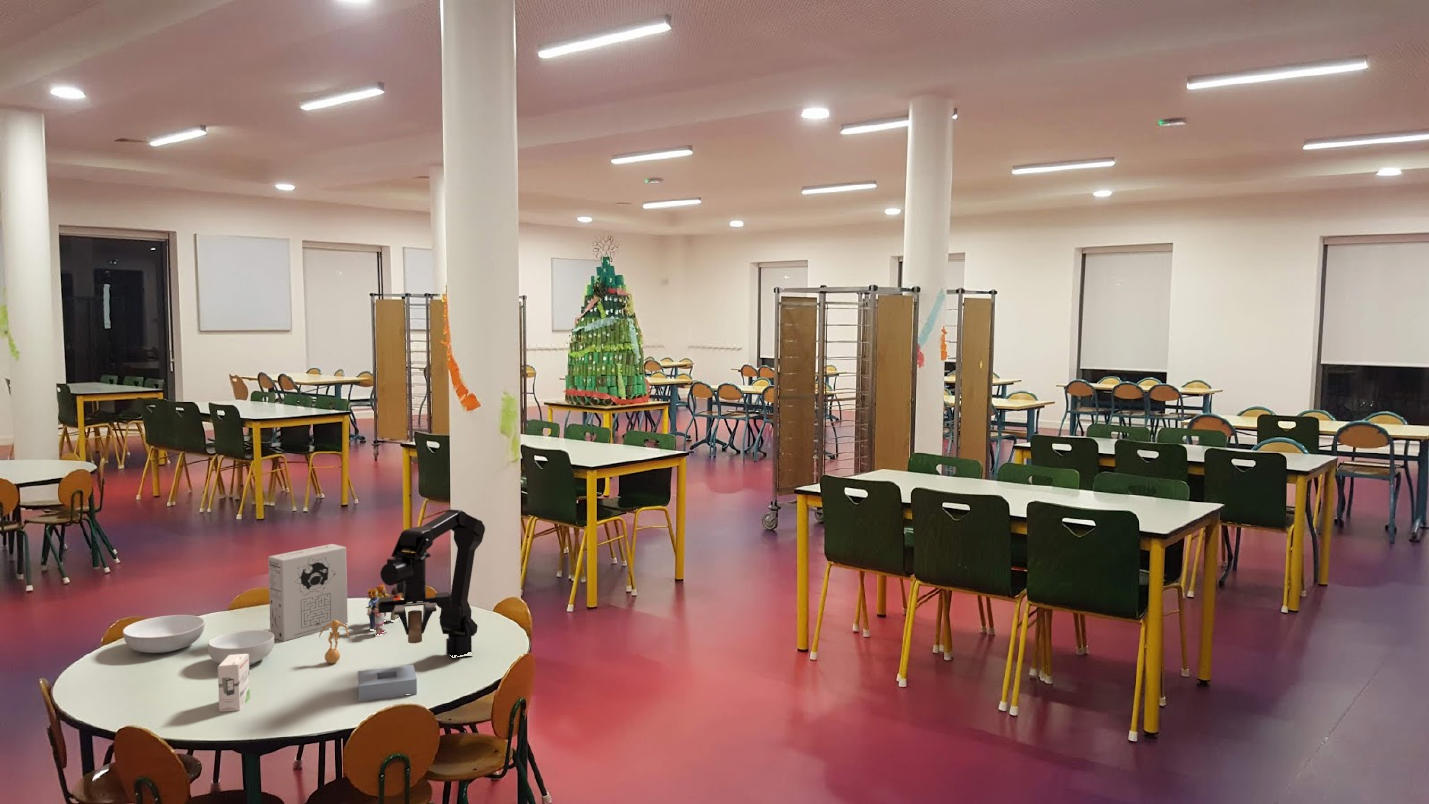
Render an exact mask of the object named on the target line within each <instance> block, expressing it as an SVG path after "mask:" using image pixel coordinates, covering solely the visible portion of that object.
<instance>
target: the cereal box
mask: <svg viewBox="0 0 1429 804" xmlns="http://www.w3.org/2000/svg"><path fill="white" fill-rule="evenodd" d="M267 560H268V565H267V566H268V591H269V593H268V594H269V596H268V597H269V600H268V601H269V626H270V627H269V628H270V629H269V632H271V633H273V634H274V640H275V639H276V640H277V641H281V642H287V641H291V640H295V639H297V638H302V637H305V636H310V635H312V634H318V633H321V631H322V629H323V628H324V626H325V625H327V624H329V623H331V622H332V621H333V620H334V619H335V620H338V621H339V622H340V623H342V624H346V623H348V622H349V621H348V616H349V615H348V614H349V613H348V576H347V575H348V573H347V570H348V569H347V547H346V546H344V545H343V546H342V545H339V544H334V543H329V544H324V545H320V546H319V545H318V546H314V547H309V548H305V549H300V550H294V551H289V552H283V553H279V554H274V555H269V556H267ZM346 625H347V624H346ZM328 628H331V626H328V627H325V629H324V631H326V629H328ZM331 629H332V628H331ZM328 630H329V629H328Z"/></svg>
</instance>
